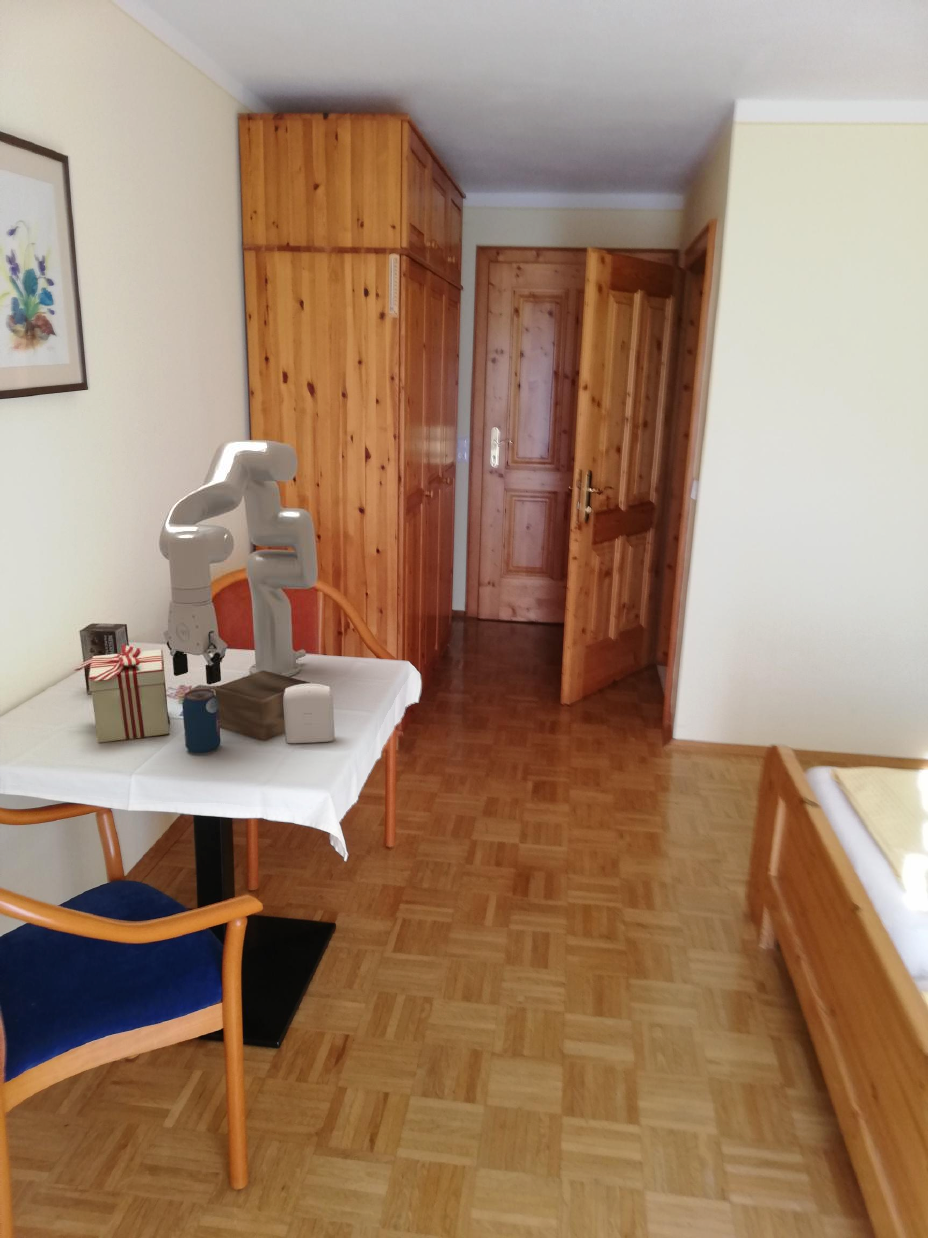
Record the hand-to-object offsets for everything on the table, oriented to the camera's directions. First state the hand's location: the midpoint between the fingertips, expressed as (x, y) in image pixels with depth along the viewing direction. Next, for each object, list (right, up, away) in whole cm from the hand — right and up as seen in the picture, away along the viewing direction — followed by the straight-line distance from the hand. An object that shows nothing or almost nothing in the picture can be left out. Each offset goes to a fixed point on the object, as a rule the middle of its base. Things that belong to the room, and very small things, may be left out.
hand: (197, 678), depth 186 cm
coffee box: (-32, -6, +38) cm, 50 cm away
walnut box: (+10, -11, +18) cm, 23 cm away
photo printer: (+21, -14, +9) cm, 27 cm away
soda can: (0, -15, +5) cm, 16 cm away
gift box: (-19, -12, +15) cm, 27 cm away
